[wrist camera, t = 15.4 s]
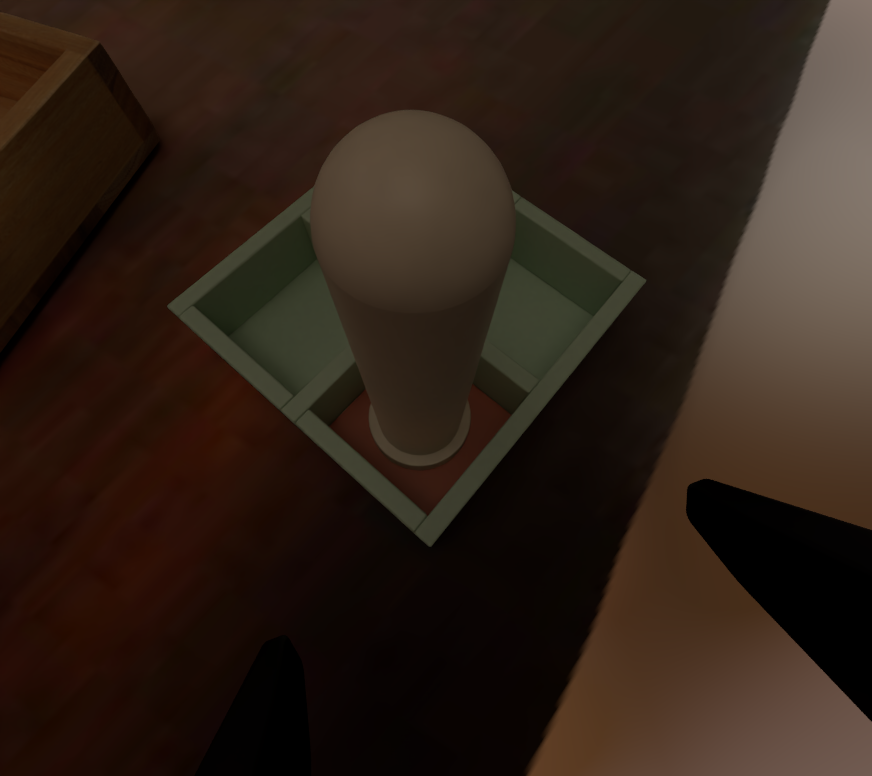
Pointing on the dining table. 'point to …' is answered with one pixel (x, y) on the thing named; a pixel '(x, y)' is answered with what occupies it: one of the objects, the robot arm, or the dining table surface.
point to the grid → (338, 372)
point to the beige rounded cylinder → (414, 271)
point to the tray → (57, 154)
